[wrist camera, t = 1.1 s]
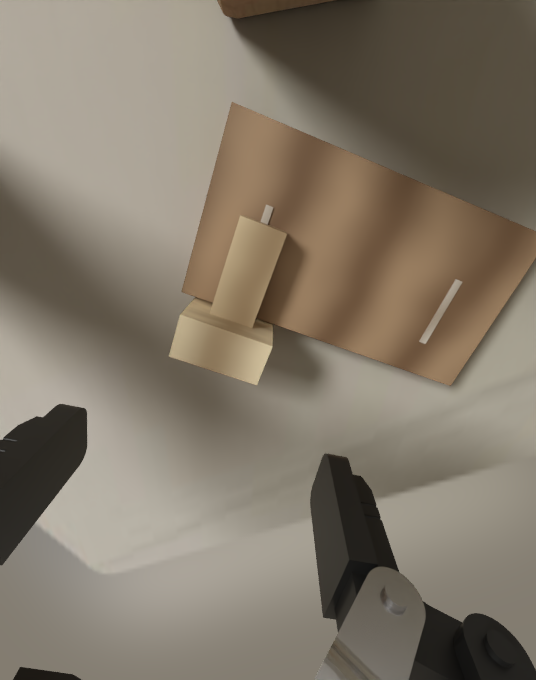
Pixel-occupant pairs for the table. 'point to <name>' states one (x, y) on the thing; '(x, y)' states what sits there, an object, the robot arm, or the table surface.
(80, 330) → the table surface
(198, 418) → the table surface
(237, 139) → the oak board
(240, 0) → the wooden block
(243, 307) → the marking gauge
